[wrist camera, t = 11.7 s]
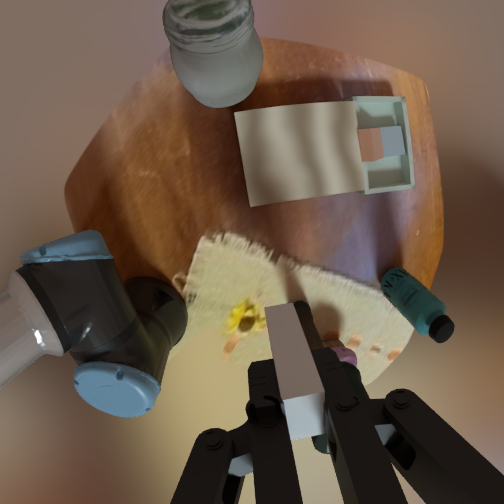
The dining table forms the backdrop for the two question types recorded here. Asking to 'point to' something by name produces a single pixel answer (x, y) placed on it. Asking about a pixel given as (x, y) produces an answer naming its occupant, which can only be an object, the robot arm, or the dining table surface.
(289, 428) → the robot arm
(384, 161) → the tray
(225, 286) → the dining table surface
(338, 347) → the cupcake
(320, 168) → the board
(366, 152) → the tile terracotta
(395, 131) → the tile slate
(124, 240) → the dining table surface
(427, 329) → the beverage bottle
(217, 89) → the grey tall rounded cylinder
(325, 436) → the potato masher grenade
